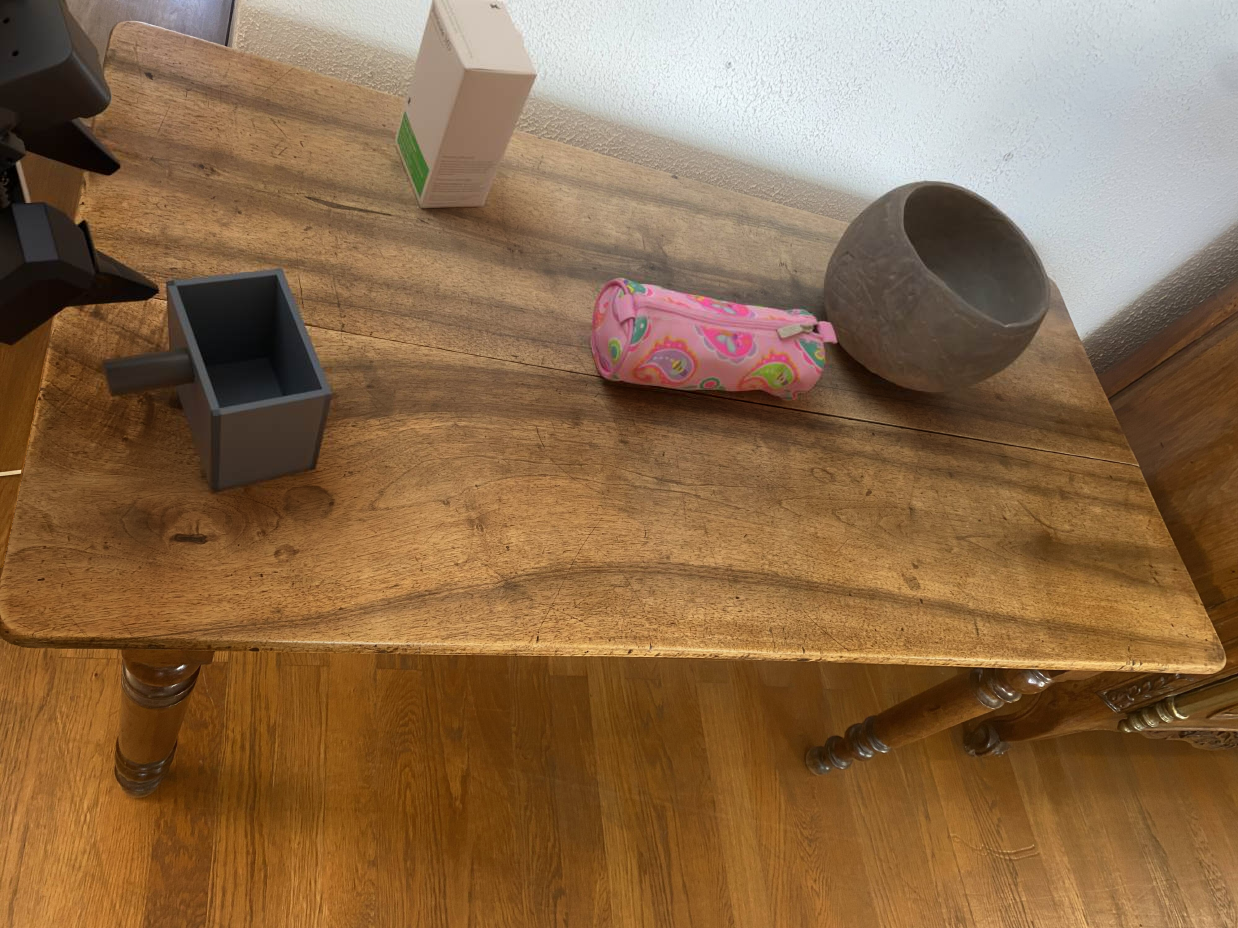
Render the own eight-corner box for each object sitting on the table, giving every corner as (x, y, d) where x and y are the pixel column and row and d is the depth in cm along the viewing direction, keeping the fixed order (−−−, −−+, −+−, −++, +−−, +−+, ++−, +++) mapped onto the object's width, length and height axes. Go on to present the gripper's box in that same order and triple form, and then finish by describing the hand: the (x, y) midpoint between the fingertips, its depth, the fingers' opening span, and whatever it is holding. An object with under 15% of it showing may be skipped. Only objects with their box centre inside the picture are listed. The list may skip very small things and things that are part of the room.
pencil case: (776, 343, 88) (827, 286, 80) (797, 421, 83) (853, 368, 76) (576, 315, 79) (614, 248, 72) (589, 401, 75) (630, 339, 68)
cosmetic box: (392, 142, 80) (427, -11, 68) (460, 143, 84) (504, -3, 71) (421, 212, 78) (462, 66, 65) (489, 210, 81) (541, 70, 69)
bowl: (914, 270, 103) (1008, 177, 91) (986, 423, 94) (1100, 343, 83) (768, 256, 94) (851, 151, 82) (833, 425, 85) (937, 334, 73)
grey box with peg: (137, 510, 56) (126, 433, 48) (97, 382, 59) (81, 289, 51) (316, 469, 62) (332, 393, 54) (272, 354, 65) (282, 268, 57)
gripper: (-1, 130, 32) (289, 287, 46) (-85, -196, 37) (197, 35, 52) (-205, 289, 34) (133, 391, 48) (-255, -41, 40) (60, 139, 54)
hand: (133, 230), depth 51 cm, fingers open, 9 cm apart
